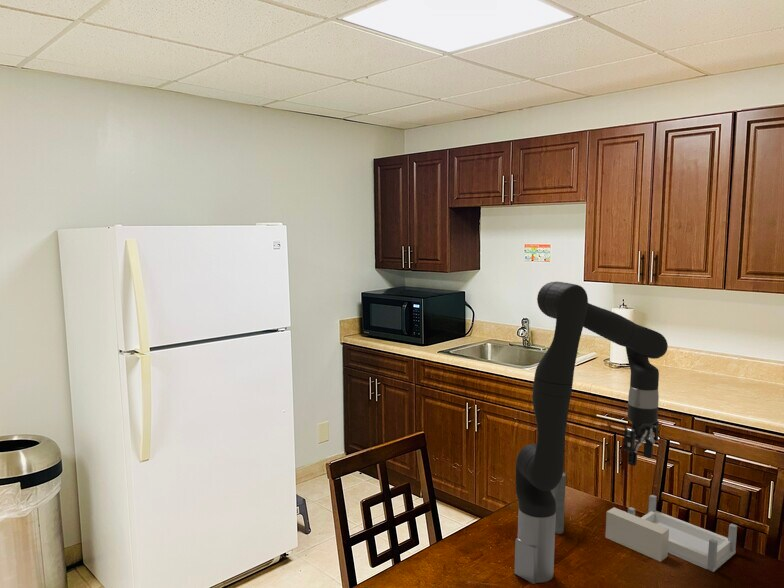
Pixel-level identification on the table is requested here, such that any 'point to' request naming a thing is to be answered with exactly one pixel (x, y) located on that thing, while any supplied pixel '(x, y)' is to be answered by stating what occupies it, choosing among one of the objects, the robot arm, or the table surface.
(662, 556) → the panel
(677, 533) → the rack
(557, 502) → the hip flask
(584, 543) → the table surface
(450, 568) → the table surface
